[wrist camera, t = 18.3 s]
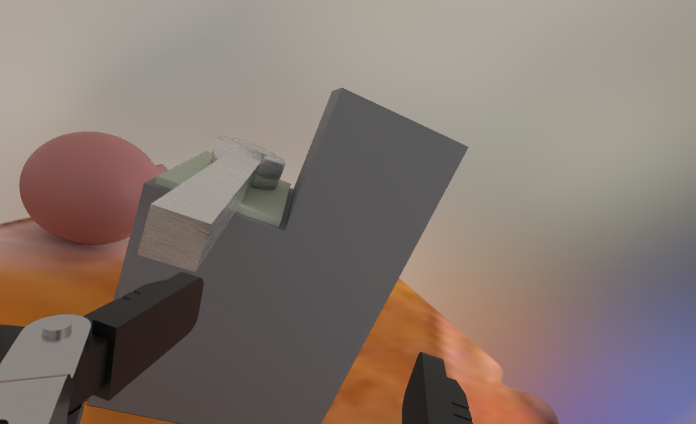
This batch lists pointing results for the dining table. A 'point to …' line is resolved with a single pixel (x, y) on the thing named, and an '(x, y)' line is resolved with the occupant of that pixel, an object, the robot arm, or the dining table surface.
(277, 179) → the flanged bar
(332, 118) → the stepped shelf
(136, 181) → the mauve oval ball
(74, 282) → the dining table surface
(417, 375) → the robot arm
